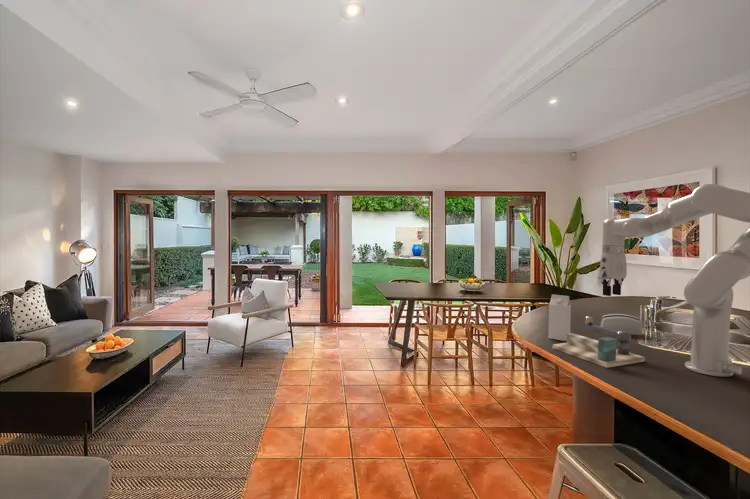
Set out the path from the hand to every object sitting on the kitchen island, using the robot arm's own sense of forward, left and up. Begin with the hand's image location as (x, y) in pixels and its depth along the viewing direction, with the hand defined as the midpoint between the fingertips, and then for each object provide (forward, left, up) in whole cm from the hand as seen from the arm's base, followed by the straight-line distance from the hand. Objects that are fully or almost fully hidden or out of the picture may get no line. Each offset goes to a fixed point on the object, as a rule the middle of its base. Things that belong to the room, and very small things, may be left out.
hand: (611, 294), depth 158 cm
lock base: (-5, +14, -21) cm, 26 cm away
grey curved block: (+14, -25, -22) cm, 36 cm away
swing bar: (-4, +7, -15) cm, 17 cm away
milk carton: (+17, +9, -22) cm, 29 cm away
